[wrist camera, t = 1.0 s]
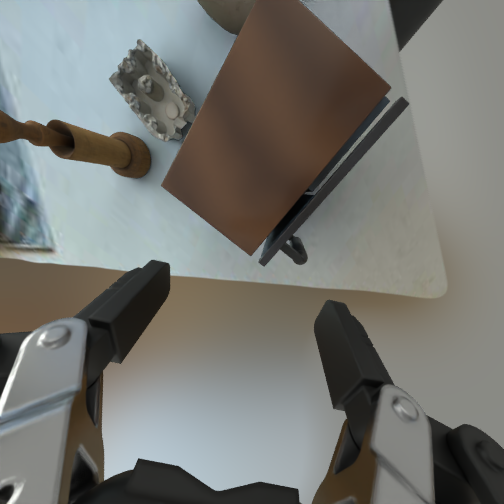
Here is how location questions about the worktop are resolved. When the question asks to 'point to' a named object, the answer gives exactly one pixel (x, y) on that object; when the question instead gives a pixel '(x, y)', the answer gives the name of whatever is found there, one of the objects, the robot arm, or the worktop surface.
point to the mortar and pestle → (82, 144)
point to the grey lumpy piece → (153, 93)
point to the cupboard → (277, 126)
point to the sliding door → (296, 246)
